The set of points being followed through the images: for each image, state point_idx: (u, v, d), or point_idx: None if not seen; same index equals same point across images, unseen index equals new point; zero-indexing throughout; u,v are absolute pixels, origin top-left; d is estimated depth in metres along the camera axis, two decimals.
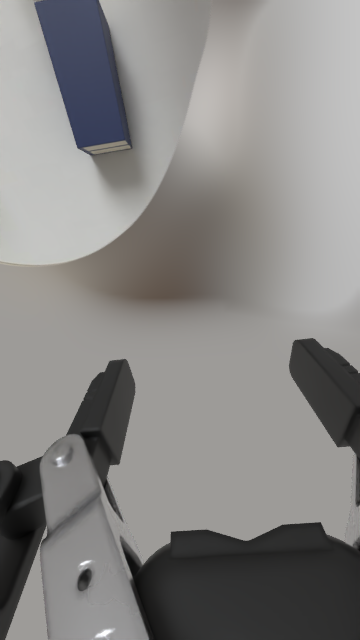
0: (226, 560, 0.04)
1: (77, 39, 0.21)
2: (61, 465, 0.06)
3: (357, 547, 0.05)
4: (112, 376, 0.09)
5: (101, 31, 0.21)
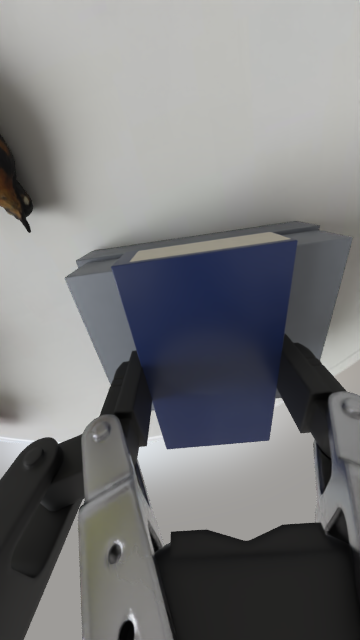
0: (226, 560, 0.04)
1: None
2: (102, 441, 0.06)
3: (326, 535, 0.05)
4: (137, 364, 0.09)
5: None
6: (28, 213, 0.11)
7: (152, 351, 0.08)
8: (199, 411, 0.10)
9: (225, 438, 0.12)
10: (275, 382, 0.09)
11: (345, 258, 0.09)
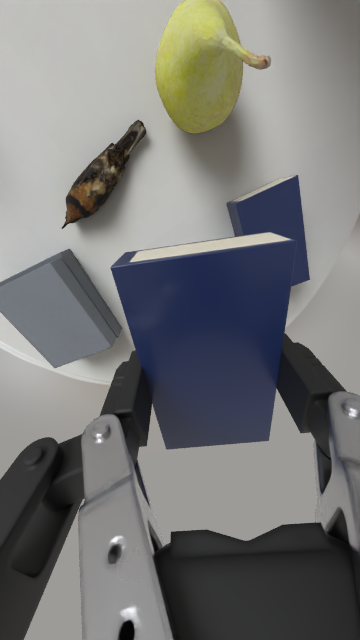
0: (226, 560, 0.04)
1: (272, 217, 0.21)
2: (102, 441, 0.06)
3: (326, 535, 0.05)
4: (137, 364, 0.09)
5: (299, 204, 0.20)
6: None
7: (152, 351, 0.08)
8: (199, 411, 0.10)
9: (225, 438, 0.12)
10: (275, 382, 0.09)
11: (105, 348, 0.28)
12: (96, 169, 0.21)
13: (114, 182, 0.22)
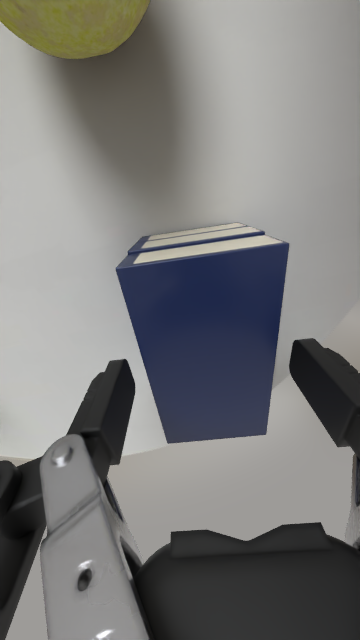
0: (226, 560, 0.04)
1: None
2: (61, 465, 0.06)
3: (357, 547, 0.05)
4: (112, 376, 0.09)
5: None
6: None
7: (154, 348, 0.09)
8: (198, 406, 0.11)
9: (224, 432, 0.12)
10: (271, 377, 0.10)
11: None
12: None
13: None
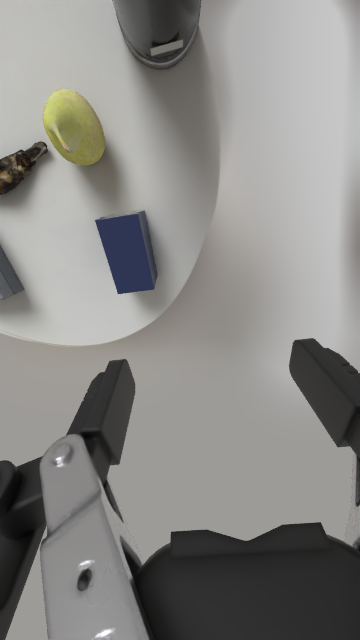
0: (226, 560, 0.04)
1: None
2: (61, 465, 0.06)
3: (357, 547, 0.05)
4: (112, 376, 0.09)
5: None
6: None
7: (107, 247, 0.30)
8: (126, 273, 0.32)
9: (138, 287, 0.33)
10: (147, 259, 0.31)
11: None
12: (5, 164, 0.28)
13: (20, 177, 0.30)
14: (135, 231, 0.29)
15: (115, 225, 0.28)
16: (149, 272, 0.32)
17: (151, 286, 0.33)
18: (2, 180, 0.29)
